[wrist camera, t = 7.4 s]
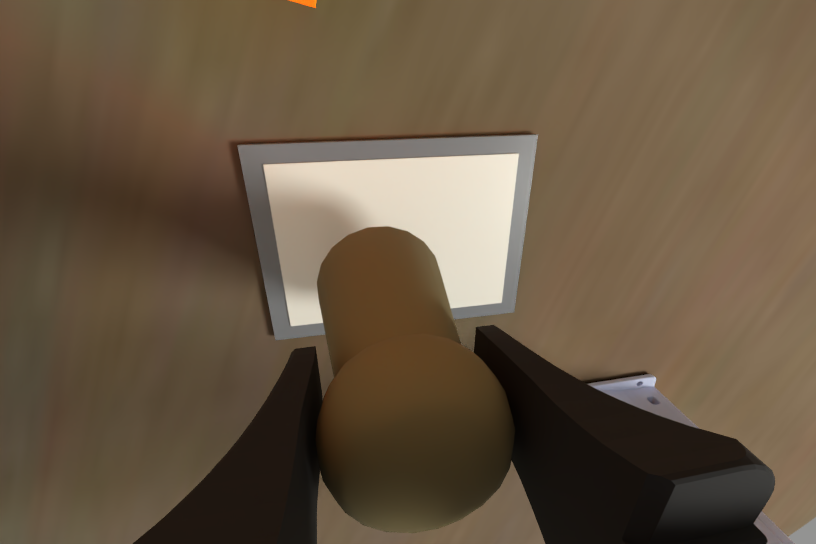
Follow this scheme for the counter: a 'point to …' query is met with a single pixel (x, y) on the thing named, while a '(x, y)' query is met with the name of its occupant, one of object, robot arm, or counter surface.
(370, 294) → the cork
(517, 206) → the notepad
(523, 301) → the counter surface
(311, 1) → the orange juice
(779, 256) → the counter surface
